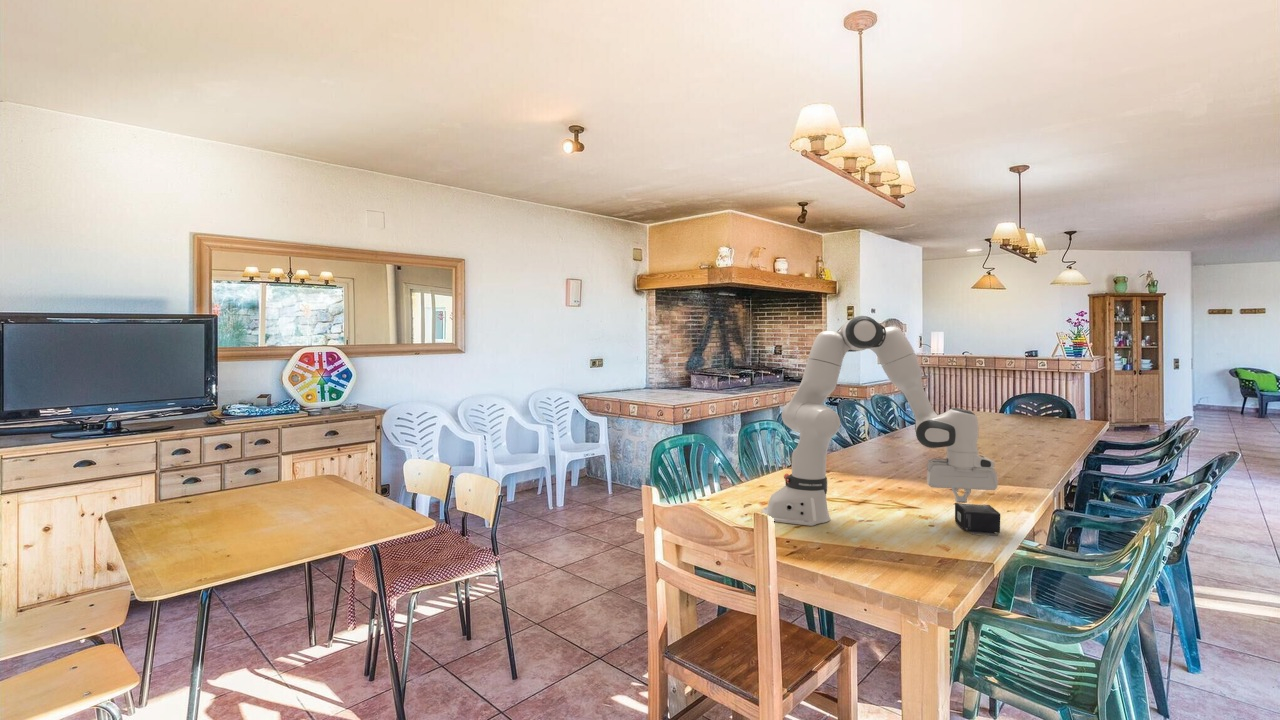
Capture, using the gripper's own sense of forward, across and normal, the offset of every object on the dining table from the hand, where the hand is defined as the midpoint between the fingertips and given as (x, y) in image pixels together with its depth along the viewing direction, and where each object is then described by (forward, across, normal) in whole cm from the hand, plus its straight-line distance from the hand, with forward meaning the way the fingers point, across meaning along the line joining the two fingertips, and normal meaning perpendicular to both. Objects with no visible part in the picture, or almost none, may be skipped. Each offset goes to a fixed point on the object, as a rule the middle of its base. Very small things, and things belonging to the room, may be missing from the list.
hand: (960, 502), depth 195 cm
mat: (+8, +5, 0) cm, 10 cm away
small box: (+5, -1, 0) cm, 5 cm away
